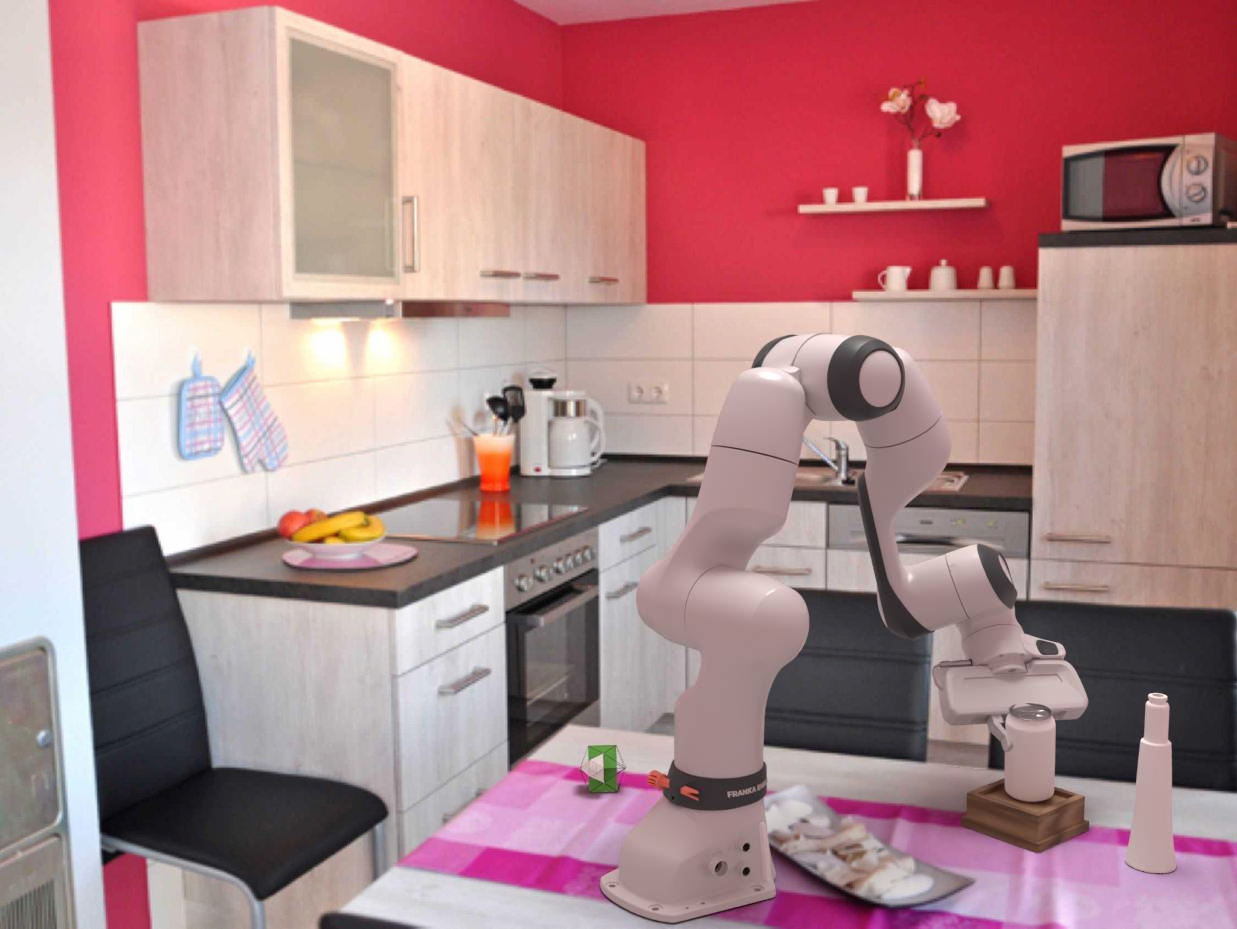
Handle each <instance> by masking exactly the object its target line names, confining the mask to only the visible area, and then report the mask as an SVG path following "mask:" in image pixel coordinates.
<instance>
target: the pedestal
mask: <svg viewBox="0 0 1237 929" xmlns="http://www.w3.org/2000/svg"><path fill="white" fill-rule="evenodd" d="M1085 800H1086V796H1085V795H1083V794H1079V793H1075V792H1072V791H1069V790H1066V789H1063V788H1060V787H1057V786H1054V794H1053V795H1052V796H1051V797H1050V798H1049V799H1048V800H1046V801H1043V802H1038V803H1028V802H1022V801H1019V800H1016V799H1014V798H1012V797H1011V796H1009V794H1008V793H1007V792H1006V791H1005V777H1004V778H1001V779H999V780H995V781H994V782H993V781H992V782H991V783H987V784H985V785H983V786H980V787H978V788H975V789H972V790H970V791H967V792H966V810H965V812H966V814H964V815H963V816H961V817H960V827H964V828H966V829H969V830H973V831H974V832H975V831H976V832H978V833H980V834H984V835H986V836H989V837H991V836H992V837H991V838H993V839H994V838H995V839H998V840H1001V841H1003V842H1005V843H1009V844H1011V845H1014V846H1017V847H1020V848H1023V849H1025V850H1028V851H1030V852H1034V853H1036V854H1039V853H1042V852H1043V851H1046V850H1048V849H1050V848H1052V847H1055V846H1057V845H1059V844H1061V843H1063V842H1066V841H1068V840H1070V839H1072V838H1074V837H1076V836H1079V835H1081V834H1083V833H1086V832H1088V831H1090V821H1089V820H1086V819H1085V806H1086V801H1085Z"/></svg>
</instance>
